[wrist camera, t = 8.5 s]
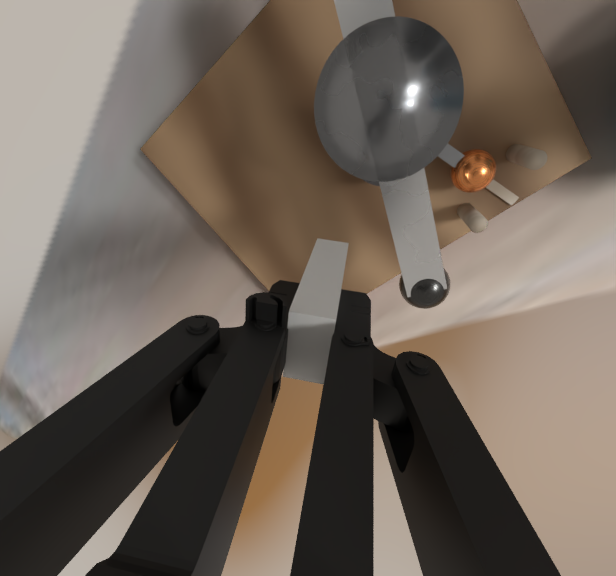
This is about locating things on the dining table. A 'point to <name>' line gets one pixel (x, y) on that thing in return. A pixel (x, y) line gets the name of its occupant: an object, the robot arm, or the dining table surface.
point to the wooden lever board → (318, 164)
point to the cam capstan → (398, 128)
